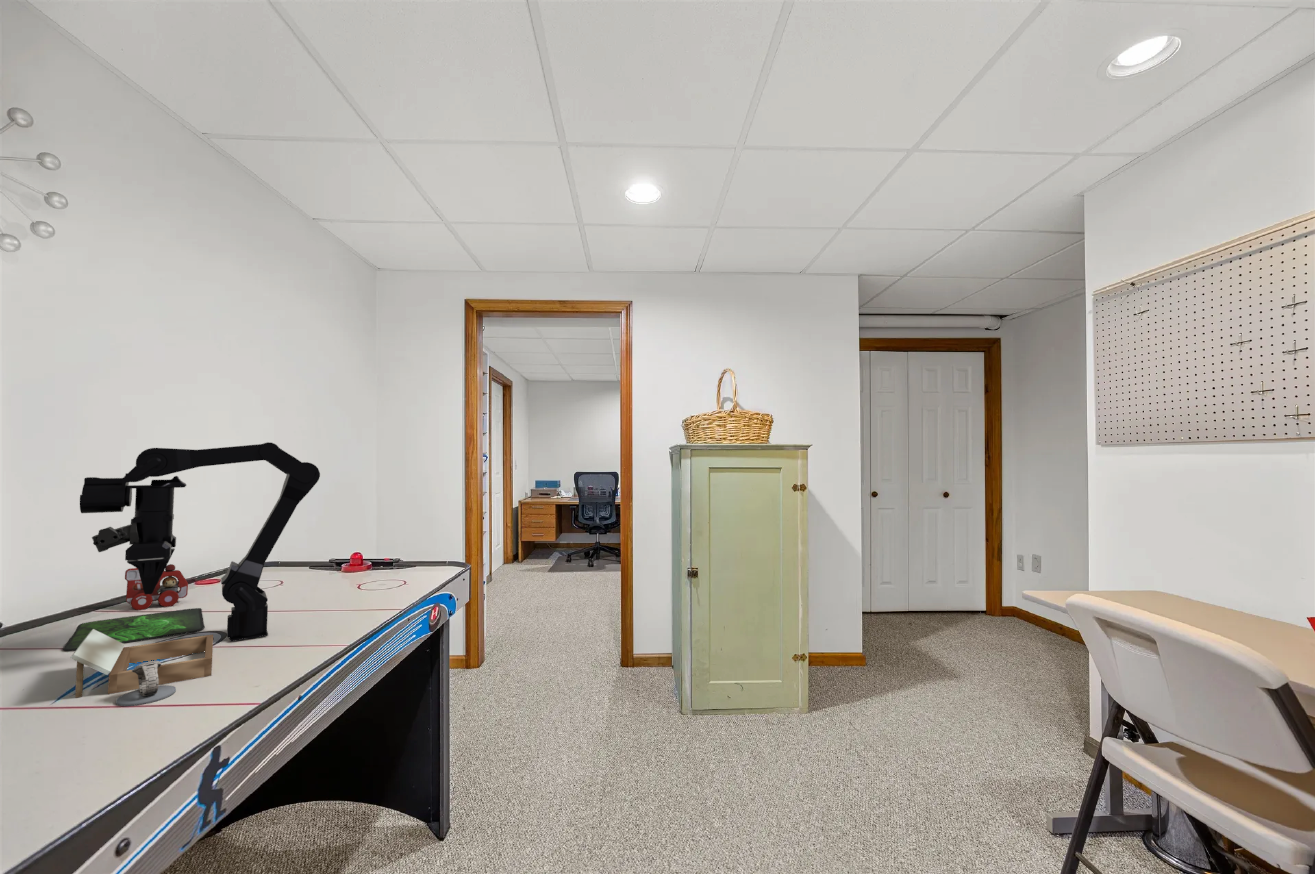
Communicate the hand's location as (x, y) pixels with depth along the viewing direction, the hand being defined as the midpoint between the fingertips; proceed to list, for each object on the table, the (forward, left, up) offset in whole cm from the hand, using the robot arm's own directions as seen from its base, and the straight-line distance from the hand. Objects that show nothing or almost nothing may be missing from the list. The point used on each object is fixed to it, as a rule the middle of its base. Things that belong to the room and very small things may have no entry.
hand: (150, 589), depth 110 cm
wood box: (-1, +15, -12) cm, 19 cm away
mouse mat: (+3, -23, -13) cm, 26 cm away
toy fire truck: (+2, -46, -12) cm, 48 cm away
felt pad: (-2, +29, -12) cm, 31 cm away
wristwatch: (-2, +29, -12) cm, 31 cm away
